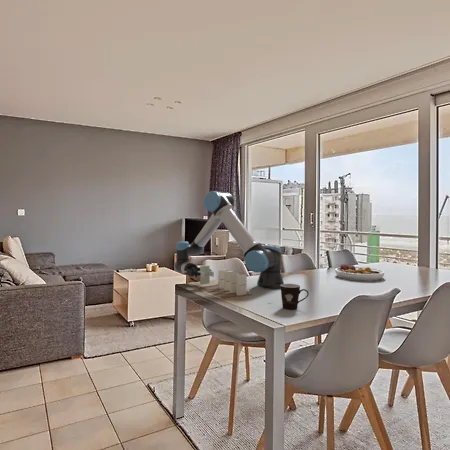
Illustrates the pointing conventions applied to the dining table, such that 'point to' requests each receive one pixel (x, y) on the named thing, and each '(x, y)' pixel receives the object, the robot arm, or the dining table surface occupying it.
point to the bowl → (359, 273)
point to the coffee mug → (291, 296)
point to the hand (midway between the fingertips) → (208, 274)
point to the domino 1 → (207, 277)
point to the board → (220, 292)
